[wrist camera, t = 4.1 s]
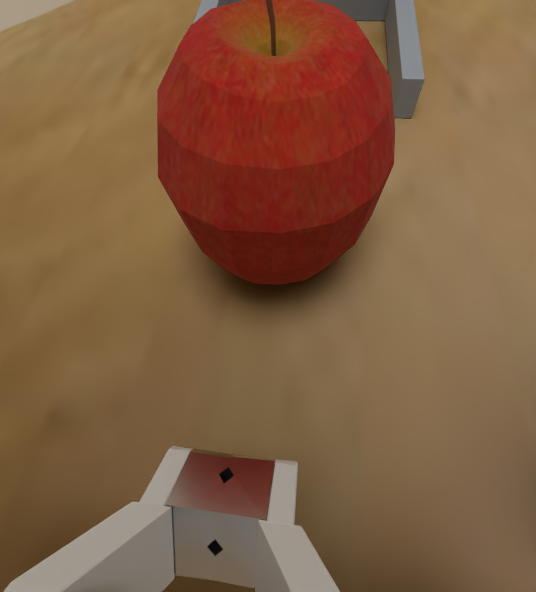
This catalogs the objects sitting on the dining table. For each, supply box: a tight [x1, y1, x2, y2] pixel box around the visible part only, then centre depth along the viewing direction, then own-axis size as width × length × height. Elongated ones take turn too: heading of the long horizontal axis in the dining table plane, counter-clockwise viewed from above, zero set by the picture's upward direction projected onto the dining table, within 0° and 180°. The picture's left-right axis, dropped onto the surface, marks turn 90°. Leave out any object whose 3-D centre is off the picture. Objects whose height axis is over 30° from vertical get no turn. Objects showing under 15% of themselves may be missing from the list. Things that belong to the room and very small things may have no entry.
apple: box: [157, 0, 395, 285], centre depth 16 cm, size 10×10×14 cm
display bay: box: [193, 0, 425, 118], centre depth 29 cm, size 18×16×6 cm
